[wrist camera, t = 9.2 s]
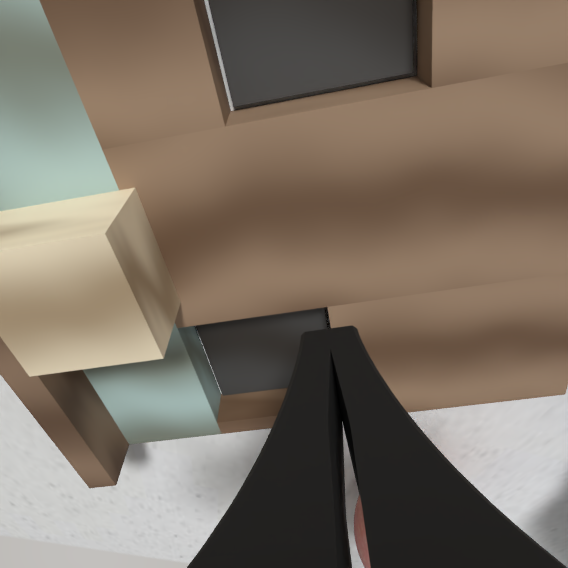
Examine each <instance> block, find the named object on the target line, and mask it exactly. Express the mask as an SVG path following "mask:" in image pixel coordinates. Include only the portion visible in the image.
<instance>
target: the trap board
mask: <svg viewBox="0 0 568 568" xmlns="http://www.w3.org/2000/svg"><path fill="white" fill-rule="evenodd" d="M209 4H210V8H211V12H212V16H213V21H214V25H215V29H216V33H217V38H218V42H219V46H220V50H221V55H222V59H223V63H224V67H225V72H226V76H227V80H228V84H229V89H230V93H231V97H232V101H233V106H234V107H236V106H241V105H246V104H251V103H257V102H262V101H267V100H272V99H278V98H283V97H288V96H293V95H298V94H304V93H309V92H314V91H319V90H325V89H330V88H335V87H340V86H346V85H351V84H356V83H361V82H367V81H372V80H377V79H382V78H387V77H393V76H398V75H403V74H408V73H413V4H412V0H209ZM416 9H417V76H413V77H408V78H403V79H397V80H392V81H387V82H381V83H376V84H371V85H366V86H360V87H355V88H350V89H345V90H339V91H334V92H329V93H324V94H318V95H313V96H308V97H303V98H297V99H292V100H287V101H282V102H276V103H271V104H266V105H261V106H255V107H250V108H245V109H240V110H234V111H231V110H230V106H229V102H228V98H227V94H226V90H225V85H224V81H223V77H222V73H221V69H220V65H219V61H218V56H217V52H216V48H215V44H214V40H213V36H212V31H211V27H210V23H209V19H208V15H207V11H206V6H205V2H204V0H0V211H5V210H11V209H16V208H22V207H28V206H33V205H39V204H45V203H50V202H56V201H62V200H67V199H73V198H79V197H84V196H90V195H96V194H101V193H107V192H113V191H118V190H124V189H130V188H136V191H137V193H138V196H139V198H140V201H141V203H142V206H143V208H144V211H145V213H146V216H147V219H148V221H149V224H150V226H151V229H152V231H153V234H154V236H155V239H156V241H157V244H158V246H159V249H160V251H161V254H162V256H163V259H164V261H165V264H166V266H167V269H168V271H169V274H170V276H171V279H172V281H173V284H174V286H175V289H176V292H177V294H178V297H179V299H180V302H181V303H180V306H179V309H178V313H177V316H176V319H175V323H174V326H173V329H172V333H171V336H170V339H169V342H168V346H167V349H166V352H165V356H164V359H157V360H150V361H142V362H135V363H127V364H120V365H112V366H105V367H98V368H90V369H83V370H75V371H68V372H60V373H53V374H45V375H38V376H31V377H29V375H28V374H27V373H26V371H25V370H24V368H23V367H22V366H21V364H20V363H19V362H18V360H17V359H16V357H15V356H14V355H13V353H12V352H11V351H10V349H9V348H8V347H7V345H6V344H5V342H4V341H3V340H2V338H1V337H0V374H1V376H2V377H3V378H4V380H5V381H6V382H7V383H8V385H9V386H10V387H11V389H12V390H13V391H14V392H15V394H16V395H17V396H18V397H19V399H20V400H21V401H22V403H23V404H24V405H25V406H26V408H27V409H28V410H29V411H30V413H31V414H32V415H33V417H34V418H35V419H36V420H37V422H38V423H39V424H40V426H41V427H42V428H43V429H44V431H45V432H46V433H47V434H48V436H49V437H50V438H51V440H52V441H53V442H54V443H55V445H56V446H57V447H58V449H59V450H60V451H61V452H62V454H63V455H64V456H65V457H66V459H67V460H68V461H69V463H70V464H71V465H72V466H73V468H74V469H75V470H76V471H77V473H78V474H79V475H80V477H81V478H82V479H83V480H84V482H85V483H86V484H87V486H88V487H89V488H95V487H105V486H114V485H116V484H117V481H118V478H119V475H120V471H121V468H122V465H123V462H124V459H125V456H126V453H127V450H128V446H129V444H137V443H146V442H154V441H163V440H172V439H180V438H189V437H198V436H206V435H215V434H224V433H233V432H241V431H250V430H259V429H267V428H272V427H273V425H274V422H275V420H276V417H277V415H278V413H279V410H280V408H281V405H282V403H283V400H284V397H285V395H286V392H287V389H288V386H289V383H290V380H291V377H292V374H293V370H294V367H295V363H296V360H297V356H298V351H299V346H300V340H301V335H302V334H303V333H304V332H307V331H314V330H322V329H328V327H327V321H326V315H325V309H324V307H328V313H329V320H330V326H331V328H337V327H344V326H351V325H353V326H354V327H356V328H357V329H358V332H359V335H360V338H361V340H362V342H363V344H364V346H365V348H366V350H367V352H368V354H369V356H370V358H371V359H372V361H373V363H374V365H375V366H376V368H377V370H378V371H379V373H380V374H381V376H382V377H383V379H384V380H385V382H386V383H387V385H388V386H389V388H390V389H391V391H392V392H393V394H394V395H395V397H396V398H397V399H398V401H399V402H400V403H401V405H402V406H403V407H404V409H405V410H406V411H407V412H415V411H424V410H433V409H442V408H450V407H459V406H468V405H476V404H485V403H494V402H503V401H511V400H520V399H529V398H537V397H546V396H555V395H564V394H565V393H566V389H567V385H568V0H416ZM195 326H196V328H197V330H198V333H199V335H200V338H201V340H202V343H203V346H204V348H205V351H206V353H207V356H208V359H209V361H210V364H211V366H212V369H213V371H214V374H215V377H216V379H217V382H218V384H219V387H220V390H221V392H222V394H221V393H220V390H219V388H218V385H217V383H216V380H215V378H214V375H213V372H212V370H211V367H210V365H209V362H208V360H207V357H206V355H205V352H204V349H203V347H202V344H201V342H200V339H199V337H198V334H197V331H196V329H195Z"/></svg>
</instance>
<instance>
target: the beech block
mask: <svg viewBox="0 0 568 568" xmlns="http://www.w3.org/2000/svg"><path fill="white" fill-rule="evenodd" d="M180 303H181V302H180V299H179V297H178V294H177V292H176V289H175V286H174V284H173V281H172V279H171V276H170V274H169V271H168V269H167V266H166V264H165V261H164V259H163V256H162V254H161V251H160V249H159V246H158V244H157V241H156V239H155V236H154V234H153V231H152V229H151V226H150V224H149V221H148V219H147V216H146V213H145V211H144V208H143V206H142V203H141V201H140V198H139V196H138V193H137V191H136V188H130V189H124V190H118V191H113V192H107V193H101V194H96V195H90V196H84V197H79V198H73V199H67V200H62V201H56V202H50V203H45V204H39V205H33V206H28V207H22V208H16V209H11V210H5V211H0V337H1V338H2V340H3V341H4V342H5V344H6V345H7V347H8V348H9V349H10V351H11V352H12V353H13V355H14V356H15V357H16V359H17V360H18V362H19V363H20V364H21V366H22V367H23V368H24V370H25V371H26V373H27V374H28V375H29V377H31V376H38V375H45V374H53V373H60V372H68V371H75V370H83V369H90V368H98V367H105V366H112V365H120V364H127V363H135V362H142V361H150V360H157V359H164V356H165V352H166V349H167V346H168V342H169V339H170V336H171V333H172V329H173V326H174V323H175V319H176V316H177V313H178V309H179V306H180Z"/></svg>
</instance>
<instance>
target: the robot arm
mask: <svg viewBox="0 0 568 568" xmlns="http://www.w3.org/2000/svg"><path fill="white" fill-rule="evenodd" d="M342 421H343V425H344V430H345V434H346V439H347V443H348V447H349V452H350V456H351V460H352V465H353V469H354V473H355V478H356V482H357V486H358V490H359V495H360V499H361V504H362V510H363V517H364V524H365V531H366V538H367V545H368V552H369V559H370V566H371V568H567V567H566V566H565V565H563V564H562V563H561V562H560V561H558V560H557V559H556V558H555V557H554V556H552V555H551V554H550V553H549V552H547V551H546V550H545V549H544V548H542V547H541V546H540V545H539V544H538V543H536V542H535V541H534V540H533V539H532V538H530V537H529V536H528V535H527V534H526V533H525V532H523V531H522V530H521V529H520V528H519V527H518V526H516V525H515V524H514V523H513V522H512V521H511V520H510V519H509V518H507V517H506V516H505V515H504V514H503V513H502V512H501V511H500V510H498V509H497V508H496V507H495V506H494V505H493V504H492V503H491V502H490V501H489V500H488V499H487V498H486V497H485V496H484V495H483V494H482V493H480V492H479V491H478V490H477V489H476V488H475V487H474V486H473V485H472V484H471V483H470V482H469V481H468V480H467V479H466V478H465V477H464V476H463V475H462V474H461V473H460V472H459V471H458V470H457V469H456V468H455V467H454V466H453V465H452V464H451V463H450V462H449V461H448V460H447V458H446V457H445V456H444V455H443V454H442V453H441V452H440V451H439V450H438V449H437V448H436V446H435V445H434V444H433V443H432V442H431V441H430V440H429V438H428V437H427V436H426V435H425V434H424V433H423V431H422V430H421V429H420V428H419V427H418V425H417V424H416V423H415V422H414V420H413V419H412V418H411V417H410V415H409V414H408V413H407V411H406V410H405V409H404V407H403V406H402V405H401V403H400V402H399V401H398V399H397V398H396V397H395V395H394V394H393V392H392V391H391V389H390V388H389V386H388V385H387V383H386V382H385V380H384V379H383V377H382V376H381V374H380V373H379V371H378V370H377V368H376V366H375V365H374V363H373V361H372V359H371V358H370V356H369V354H368V352H367V350H366V348H365V346H364V344H363V342H362V340H361V338H360V335H359V332H358V329H357V328H356V327H354V326H353V325H351V326H344V327H337V328H329V329H322V330H314V331H307V332H304V333H303V334H302V335H301V340H300V346H299V351H298V356H297V360H296V363H295V367H294V370H293V374H292V377H291V380H290V383H289V386H288V389H287V392H286V395H285V397H284V400H283V403H282V405H281V408H280V410H279V413H278V415H277V417H276V420H275V422H274V425H273V427H272V429H271V432H270V434H269V436H268V438H267V440H266V442H265V444H264V446H263V448H262V450H261V452H260V454H259V456H258V458H257V460H256V462H255V464H254V466H253V468H252V470H251V471H250V473H249V475H248V477H247V478H246V480H245V482H244V484H243V485H242V487H241V489H240V491H239V492H238V494H237V496H236V497H235V499H234V500H233V502H232V504H231V505H230V507H229V508H228V510H227V511H226V513H225V514H224V516H223V517H222V519H221V520H220V522H219V523H218V525H217V526H216V528H215V529H214V531H213V532H212V534H211V535H210V537H209V538H208V540H207V541H206V543H205V544H204V545H203V547H202V548H201V550H200V551H199V552H198V554H197V555H196V556H195V558H194V559H193V560H192V562H191V563H190V564H189V566H188V567H187V568H352V564H351V555H350V547H349V539H348V530H347V521H346V507H345V481H344V452H343V425H342Z"/></svg>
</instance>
